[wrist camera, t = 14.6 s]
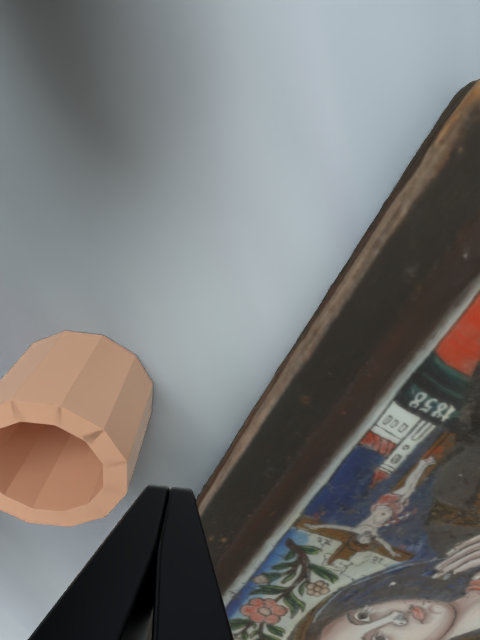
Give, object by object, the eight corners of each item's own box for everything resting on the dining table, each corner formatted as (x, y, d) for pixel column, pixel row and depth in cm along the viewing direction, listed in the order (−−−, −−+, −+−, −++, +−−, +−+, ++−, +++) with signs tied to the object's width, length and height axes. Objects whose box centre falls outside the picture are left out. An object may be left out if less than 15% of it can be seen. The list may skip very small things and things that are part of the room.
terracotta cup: (12, 324, 21) (-59, 392, 16) (155, 341, 22) (127, 413, 17) (26, 432, 24) (-30, 517, 20) (150, 446, 25) (126, 532, 20)
